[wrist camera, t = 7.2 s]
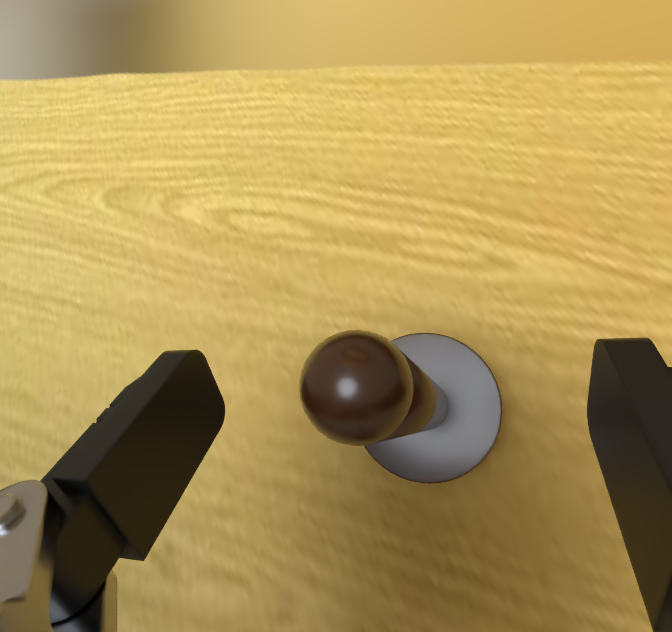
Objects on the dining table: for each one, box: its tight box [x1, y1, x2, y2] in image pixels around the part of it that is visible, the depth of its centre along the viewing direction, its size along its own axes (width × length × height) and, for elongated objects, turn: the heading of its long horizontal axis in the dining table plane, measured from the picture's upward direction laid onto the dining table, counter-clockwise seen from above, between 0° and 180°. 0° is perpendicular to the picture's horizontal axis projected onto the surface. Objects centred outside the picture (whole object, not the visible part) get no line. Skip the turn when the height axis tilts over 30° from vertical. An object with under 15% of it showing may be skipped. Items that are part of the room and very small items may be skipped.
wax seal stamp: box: [300, 330, 502, 483], centre depth 14 cm, size 6×6×15 cm
